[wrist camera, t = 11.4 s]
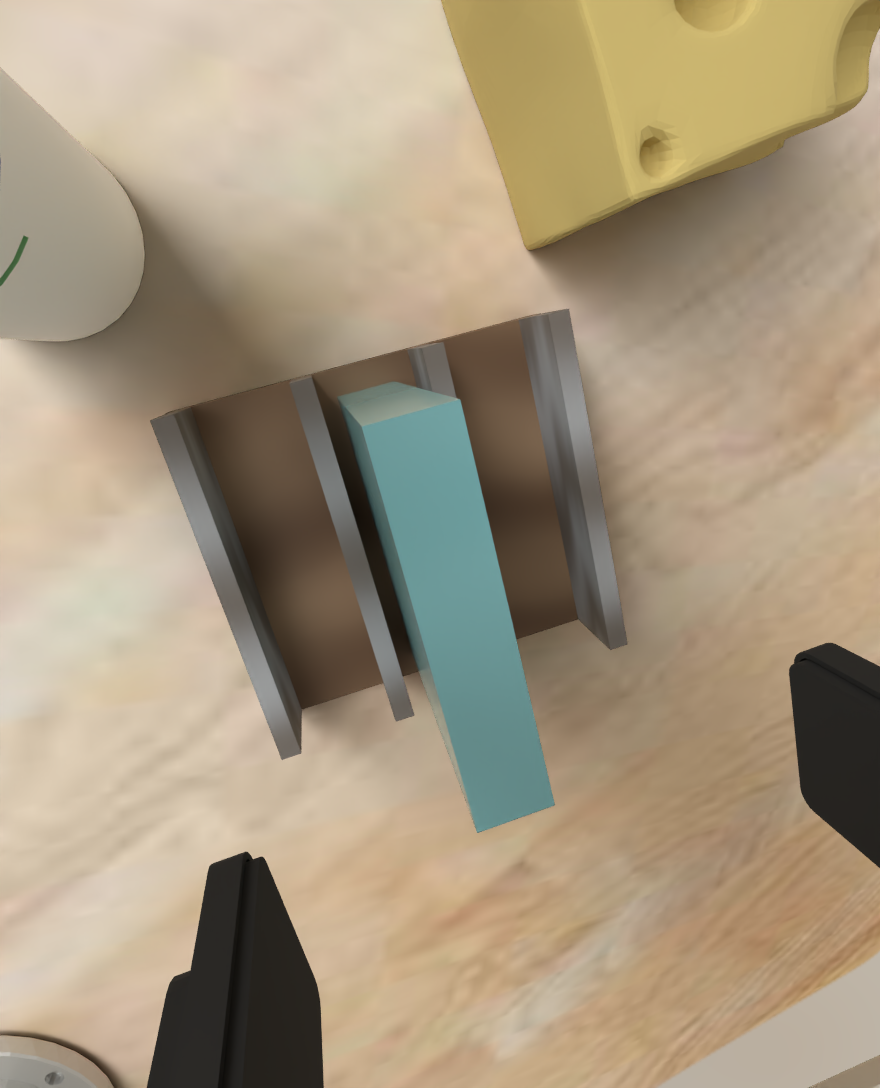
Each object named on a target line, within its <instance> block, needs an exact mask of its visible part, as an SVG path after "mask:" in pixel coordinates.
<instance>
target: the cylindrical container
mask: <svg viewBox="0 0 880 1088" xmlns="http://www.w3.org/2000/svg"><path fill="white" fill-rule="evenodd" d="M144 259H145V250H144V241H143V233H142V230H141V226H140V223H139V220H138V216H137V213H136V211H135V209H134V207H133V205H132V203H131V201H130V199H129V197H128V196H127V194H126V192H125V191H124V189H123V188H122V187H121V185H120V184H119V183H118V181H117V180H116V179H115V177H114V176H113V175H112V173H111V172H109V171H108V170H107V169H106V168H105V167H104V166H103V165H102V164H101V163H100V162H99V161H98V160H97V159H96V158H95V157H94V156H93V155H92V154H91V153H90V152H89V151H88V150H86V149H85V148H84V147H83V146H82V145H81V144H80V143H79V142H78V141H77V140H76V139H75V138H74V137H73V136H72V135H71V134H70V133H69V132H68V131H67V130H66V129H65V128H64V127H62V126H61V125H60V124H59V123H58V122H57V121H56V120H55V119H54V118H53V117H52V116H51V115H50V114H49V113H48V112H47V111H46V110H45V109H44V108H43V107H42V106H41V105H39V104H38V103H37V102H36V101H35V100H34V99H33V98H32V97H31V96H30V95H29V94H28V93H27V92H26V91H25V90H24V89H23V88H22V87H20V86H19V85H18V84H17V83H16V82H15V81H14V80H13V79H12V78H11V77H10V76H9V75H8V74H7V73H6V72H5V71H4V70H3V69H2V68H0V339H17V340H33V341H71V340H76V339H81V338H86V337H88V336H90V335H93V334H95V333H97V332H100V331H102V330H104V329H105V328H106V327H108V326H109V325H111V324H112V323H113V322H115V321H116V320H117V319H119V317H120V316H121V315H122V314H123V313H124V312H125V310H126V309H127V308H128V307H129V306H130V304H131V303H132V301H133V299H134V297H135V295H136V293H137V291H138V289H139V286H140V282H141V279H142V275H143V271H144Z"/></svg>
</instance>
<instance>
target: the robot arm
mask: <svg viewBox="0 0 880 1088" xmlns="http://www.w3.org/2000/svg"><path fill="white" fill-rule="evenodd" d="M789 676H790V686H791V696H792V706H793V717H794V727H795V737H796V747H797V757H798V767H799V778H800V788H801V792H802V795H803V797H804V799H805V801H806V803H807V804H808V805H809V807H810V808H811V809H812V810H813V811H814V812H815V813H816V814H817V815H818V816H820V817H821V818H822V819H823V820H824V821H825V822H827V823H828V824H829V825H830V826H831V827H832V828H834V829H835V830H836V831H837V832H838V833H840V834H841V835H842V836H843V837H844V838H845V839H847V840H848V841H849V842H850V843H851V844H852V845H854V846H855V847H856V848H857V849H858V850H859V851H861V852H862V853H863V854H864V855H865V856H866V857H868V858H869V859H870V860H871V861H872V862H873V863H875V864H876V865H877V866H878V867H879V868H880V667H879V666H877V665H876V664H874V663H872V662H870V661H868V660H866V659H864V658H862V657H860V656H858V655H856V654H854V653H852V652H850V651H848V650H846V649H844V648H842V647H840V646H838V645H836V644H833V643H825V644H823V645H820V646H817V647H814V648H811V649H809V650H806V651H803V652H800V653H799V654H797V655H796V657H795V660H794V664H793V665H792V666H791V667H790V669H789ZM0 1088H114V1087H113V1085H112V1084H111V1082H110V1080H109V1079H108V1077H107V1076H106V1075H105V1074H104V1073H103V1072H102V1071H101V1070H100V1069H99V1068H98V1067H97V1066H96V1065H95V1064H94V1063H93V1062H91V1061H90V1060H88V1059H87V1058H85V1057H83V1056H82V1055H80V1054H79V1053H77V1052H76V1051H73V1050H71V1049H68V1048H66V1047H63V1046H61V1045H59V1044H56V1043H53V1042H48V1041H44V1040H40V1039H35V1038H31V1037H19V1036H7V1035H1V1036H0ZM147 1088H324V1085H323V1058H322V1032H321V1007H320V998H319V992H318V987H317V984H316V981H315V978H314V975H313V973H312V970H311V968H310V966H309V963H308V961H307V958H306V956H305V954H304V951H303V949H302V946H301V944H300V942H299V939H298V937H297V935H296V932H295V930H294V927H293V925H292V923H291V920H290V918H289V915H288V913H287V911H286V908H285V906H284V903H283V901H282V899H281V896H280V894H279V891H278V889H277V887H276V884H275V882H274V879H273V877H272V875H271V872H270V870H269V867H268V865H267V863H266V861H265V859H264V858H263V857H259V858H256V859H252V857H251V855H250V854H249V853H248V852H244V853H241V854H238V855H235V856H233V857H230V858H227V859H224V860H221V861H219V862H216V863H213V864H211V865H210V867H209V870H208V874H207V880H206V886H205V891H204V897H203V903H202V909H201V914H200V920H199V926H198V931H197V937H196V943H195V948H194V954H193V960H192V965H191V971H188V972H185V973H183V974H180V975H177V976H175V977H174V978H173V979H172V981H171V982H170V984H169V987H168V990H167V994H166V998H165V1003H164V1008H163V1012H162V1017H161V1022H160V1027H159V1032H158V1037H157V1041H156V1046H155V1051H154V1056H153V1061H152V1065H151V1070H150V1075H149V1080H148V1085H147ZM809 1088H880V1055H879V1056H877V1057H874V1058H872V1059H870V1060H868V1061H866V1062H864V1063H861V1064H859V1065H857V1066H855V1067H853V1068H850V1069H848V1070H846V1071H844V1072H841V1073H839V1074H838V1075H835V1076H833V1077H831V1078H828V1079H826V1080H824V1081H822V1082H820V1083H817V1084H815V1085H813V1086H811V1087H809Z"/></svg>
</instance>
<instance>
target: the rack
mask: <svg viewBox="0 0 880 1088" xmlns="http://www.w3.org/2000/svg"><path fill="white" fill-rule="evenodd" d="M394 381H395V382H398V383H402V384H406V385H409V386H413V387H417V388H420V389H424V390H428V391H432V392H435V393H439V394H443V395H446V396H450V397H454V398H457V399H460V400H461V405H462V409H463V413H464V418H465V422H466V426H467V430H468V435H469V439H470V443H471V448H472V452H473V456H474V460H475V465H476V469H477V473H478V478H479V482H480V486H481V490H482V495H483V499H484V503H485V508H486V512H487V516H488V521H489V525H490V529H491V533H492V538H493V542H494V546H495V551H496V555H497V559H498V563H499V568H500V572H501V576H502V581H503V585H504V589H505V593H506V598H507V602H508V606H509V611H510V615H511V619H512V623H513V628H514V632H515V636H516V639H519V638H522V637H525V636H528V635H531V634H534V633H537V632H540V631H543V630H546V629H550V628H553V627H556V626H559V625H562V624H565V623H568V622H571V621H574V620H577V619H579V620H580V621H581V622H582V623H583V624H584V625H585V626H586V627H587V628H588V629H589V630H590V631H591V632H592V633H593V634H594V635H595V636H596V637H597V638H598V639H600V640H601V641H602V642H603V643H604V644H605V645H606V646H607V647H608V648H609V649H610V650H612V649H615V648H618V647H621V646H624V645H627V638H626V632H625V627H624V621H623V615H622V610H621V604H620V598H619V592H618V587H617V581H616V575H615V570H614V564H613V558H612V553H611V547H610V541H609V535H608V530H607V524H606V518H605V513H604V507H603V501H602V495H601V490H600V484H599V478H598V473H597V467H596V461H595V455H594V450H593V444H592V438H591V433H590V427H589V421H588V415H587V410H586V404H585V398H584V393H583V387H582V381H581V376H580V370H579V364H578V358H577V353H576V347H575V341H574V336H573V330H572V324H571V318H570V313H569V309H564V310H559V311H554V312H548V313H543V314H541V313H540V314H535V315H530V316H526V317H523V318H519V319H515V320H511V321H508V322H504V323H500V324H496V325H493V326H489V327H485V328H481V329H478V330H474V331H470V332H466V333H463V334H459V335H455V336H451V337H448V338H444V339H440V340H437V341H433V342H429V343H425V344H422V345H418V346H414V347H410V348H407V349H403V350H399V351H395V352H392V353H388V354H384V355H380V356H377V357H373V358H369V359H365V360H362V361H358V362H354V363H350V364H347V365H343V366H339V367H335V368H332V369H328V370H324V371H320V372H317V373H313V374H309V375H305V376H302V377H298V378H294V379H290V380H287V381H283V382H279V383H275V384H272V385H268V386H264V387H260V388H257V389H253V390H249V391H245V392H242V393H238V394H234V395H230V396H227V397H223V398H219V399H215V400H212V401H208V402H204V403H200V404H197V405H193V406H189V407H185V408H182V409H178V410H174V411H171V412H168V413H166V414H165V415H163V416H160V417H158V418H155V419H153V420H151V421H150V422H151V424H152V427H153V430H154V432H155V435H156V437H157V440H158V442H159V445H160V448H161V450H162V453H163V455H164V458H165V460H166V463H167V465H168V468H169V471H170V473H171V476H172V478H173V481H174V483H175V486H176V489H177V491H178V494H179V496H180V499H181V501H182V504H183V507H184V509H185V512H186V514H187V517H188V519H189V522H190V525H191V527H192V530H193V532H194V535H195V537H196V540H197V543H198V545H199V548H200V550H201V553H202V555H203V558H204V561H205V563H206V566H207V568H208V571H209V573H210V576H211V579H212V581H213V584H214V586H215V589H216V591H217V594H218V597H219V599H220V602H221V604H222V607H223V609H224V612H225V615H226V617H227V620H228V622H229V625H230V627H231V630H232V633H233V635H234V638H235V640H236V643H237V645H238V648H239V651H240V653H241V656H242V658H243V661H244V663H245V666H246V669H247V671H248V674H249V676H250V679H251V681H252V684H253V687H254V689H255V692H256V694H257V697H258V699H259V702H260V705H261V707H262V710H263V712H264V715H265V717H266V720H267V723H268V725H269V728H270V730H271V733H272V735H273V738H274V741H275V743H276V746H277V748H278V751H279V753H280V756H281V759H282V760H283V759H286V758H289V757H292V756H295V755H298V754H301V723H302V709H305V708H308V707H311V706H314V705H317V704H320V703H323V702H326V701H329V700H332V699H335V698H338V697H341V696H344V695H347V694H351V693H354V692H357V691H360V690H363V689H366V688H369V687H372V686H375V685H378V684H381V683H384V685H385V689H386V692H387V695H388V698H389V701H390V704H391V708H392V711H393V714H394V717H395V720H396V721H399V720H402V719H405V718H408V717H411V716H414V712H413V709H412V706H411V702H410V699H409V696H408V693H407V689H406V686H405V683H404V679H403V676H406V675H409V674H412V673H415V672H418V669H417V666H416V663H415V661H414V658H413V655H412V652H411V648H410V645H409V641H408V638H407V635H406V631H405V628H404V624H403V621H402V617H401V614H400V611H399V607H398V604H397V600H396V597H395V594H394V590H393V587H392V583H391V580H390V576H389V573H388V570H387V566H386V563H385V559H384V556H383V552H382V549H381V546H380V542H379V539H378V535H377V532H376V529H375V525H374V522H373V518H372V515H371V511H370V508H369V505H368V501H367V498H366V494H365V491H364V487H363V484H362V481H361V477H360V474H359V470H358V467H357V463H356V460H355V457H354V453H353V450H352V446H351V443H350V440H349V436H348V433H347V429H346V426H345V422H344V419H343V416H342V412H341V409H340V405H339V402H338V398H337V397H338V396H342V395H345V394H349V393H353V392H357V391H360V390H364V389H368V388H371V387H375V386H379V385H382V384H386V383H390V382H394Z"/></svg>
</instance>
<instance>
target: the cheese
mask: <svg viewBox="0 0 880 1088" xmlns="http://www.w3.org/2000/svg"><path fill="white" fill-rule="evenodd" d="M441 1H442V5H443V8H444V11H445V15H446V18H447V21H448V24H449V27H450V31H451V34H452V37H453V40H454V43H455V46H456V49H457V51H458V54H459V57H460V60H461V63H462V66H463V68H464V71H465V73H466V76H467V79H468V81H469V84H470V87H471V89H472V92H473V95H474V97H475V100H476V102H477V105H478V108H479V110H480V113H481V115H482V118H483V121H484V123H485V126H486V128H487V131H488V134H489V137H490V139H491V142H492V145H493V148H494V151H495V154H496V157H497V160H498V163H499V166H500V169H501V172H502V175H503V178H504V181H505V184H506V187H507V190H508V194H509V197H510V200H511V203H512V206H513V210H514V213H515V216H516V219H517V223H518V226H519V229H520V232H521V236H522V239H523V242H524V245H525V247H526V249H527V250H534V249H537V248H540V247H543V246H545V245H548V244H551V243H554V242H556V241H558V240H560V239H562V238H564V237H566V236H568V235H570V234H572V233H574V232H576V231H578V230H580V229H582V228H584V227H586V226H588V225H591V224H594V223H596V222H599V221H601V220H603V219H605V218H607V217H610V216H612V215H614V214H616V213H618V212H620V211H622V210H624V209H626V208H628V207H630V206H632V205H634V204H636V203H638V202H640V201H642V200H644V199H646V198H648V197H651V196H653V195H656V194H658V193H661V192H665V191H668V190H671V189H674V188H677V187H679V186H682V185H685V184H687V183H690V182H693V181H696V180H699V179H702V178H705V177H708V176H711V175H715V174H718V173H722V172H725V171H728V170H732V169H735V168H738V167H742V166H745V165H748V164H751V163H753V162H755V161H758V160H760V159H762V158H764V157H766V156H768V155H770V154H772V153H773V152H775V151H776V150H778V149H779V148H781V147H783V144H784V141H785V139H787V138H789V137H791V136H794V135H796V134H799V133H801V132H804V131H806V130H809V129H811V128H814V127H817V126H819V125H822V124H824V123H826V122H829V121H831V120H833V119H835V118H837V117H839V116H841V115H842V114H844V113H846V112H848V111H849V110H851V109H852V108H854V107H855V106H856V105H857V104H858V103H859V102H860V101H861V99H862V98H863V96H864V95H865V93H866V92H867V89H868V79H869V68H868V67H869V57H870V52H871V48H872V45H873V42H874V40H875V37H876V34H877V32H878V30H879V28H880V0H441Z"/></svg>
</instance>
